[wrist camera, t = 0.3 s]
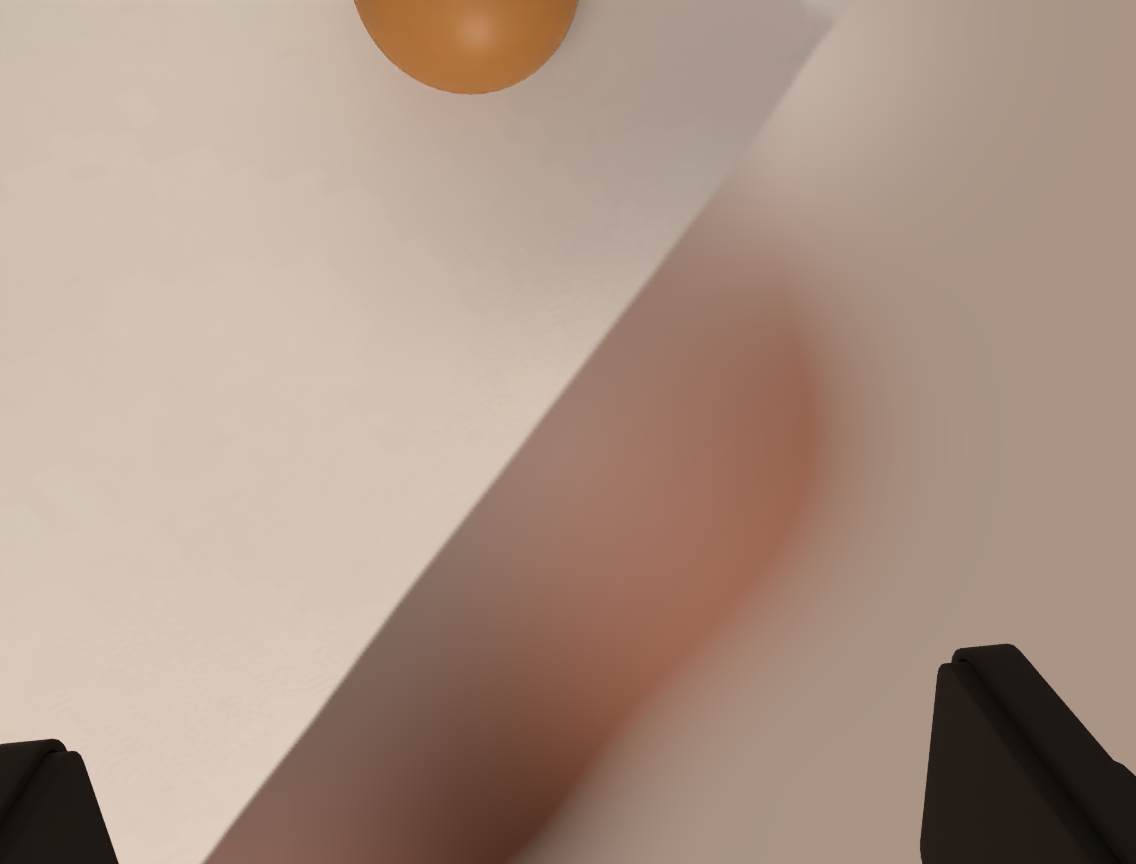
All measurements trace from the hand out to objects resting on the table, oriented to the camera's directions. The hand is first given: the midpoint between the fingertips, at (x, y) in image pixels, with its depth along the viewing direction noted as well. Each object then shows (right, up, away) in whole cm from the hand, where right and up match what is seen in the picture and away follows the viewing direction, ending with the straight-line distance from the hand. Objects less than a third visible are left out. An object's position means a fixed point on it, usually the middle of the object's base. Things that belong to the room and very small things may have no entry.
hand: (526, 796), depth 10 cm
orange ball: (-2, +16, +15) cm, 22 cm away
